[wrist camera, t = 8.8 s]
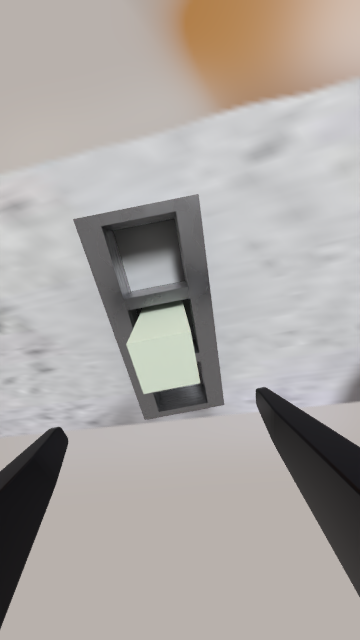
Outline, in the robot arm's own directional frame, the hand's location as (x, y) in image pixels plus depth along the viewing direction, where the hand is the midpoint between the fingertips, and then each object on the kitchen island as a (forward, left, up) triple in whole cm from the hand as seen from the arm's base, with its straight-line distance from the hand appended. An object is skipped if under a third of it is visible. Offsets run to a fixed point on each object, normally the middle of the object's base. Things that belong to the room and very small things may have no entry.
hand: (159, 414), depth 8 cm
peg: (0, 0, -12) cm, 12 cm away
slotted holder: (0, 0, -12) cm, 12 cm away
